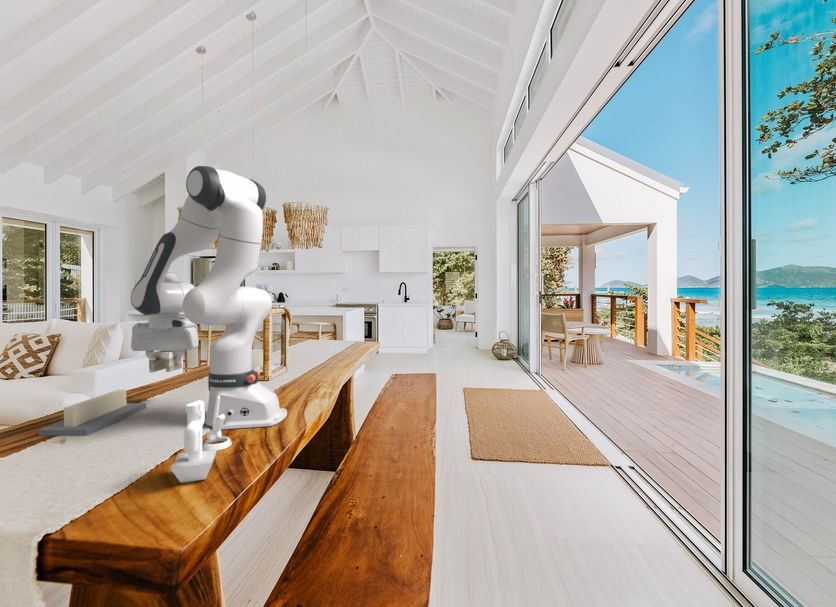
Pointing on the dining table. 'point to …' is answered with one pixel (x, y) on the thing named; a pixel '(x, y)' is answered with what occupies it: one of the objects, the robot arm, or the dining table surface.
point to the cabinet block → (163, 361)
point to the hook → (216, 436)
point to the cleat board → (92, 422)
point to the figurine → (193, 447)
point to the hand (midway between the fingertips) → (165, 363)
